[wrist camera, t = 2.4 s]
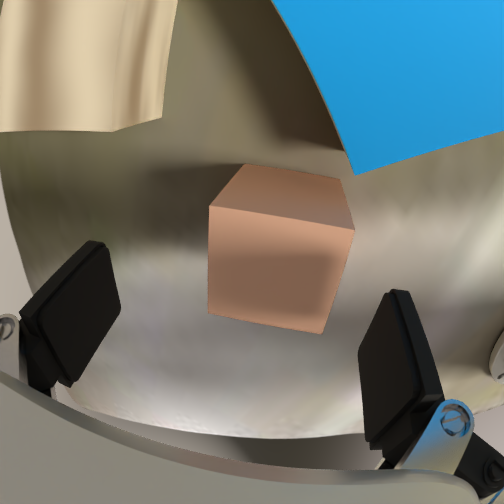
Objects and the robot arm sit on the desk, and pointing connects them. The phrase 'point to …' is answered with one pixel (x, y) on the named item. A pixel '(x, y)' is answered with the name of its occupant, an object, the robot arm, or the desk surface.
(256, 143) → the desk surface
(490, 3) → the book
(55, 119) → the base
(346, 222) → the block
